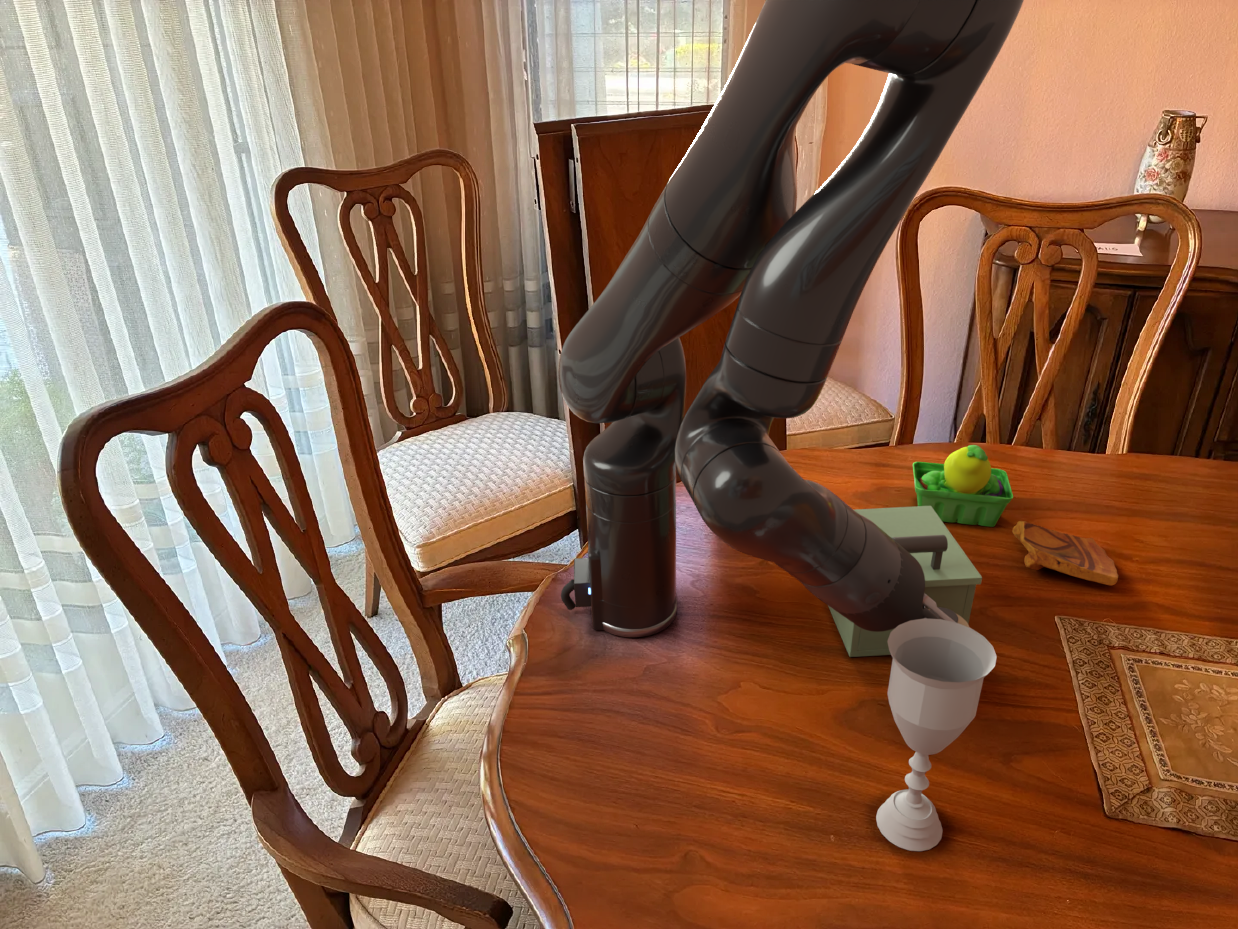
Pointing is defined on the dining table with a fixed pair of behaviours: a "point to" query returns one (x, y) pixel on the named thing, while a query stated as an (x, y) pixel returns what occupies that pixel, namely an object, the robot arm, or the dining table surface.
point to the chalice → (929, 714)
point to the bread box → (876, 642)
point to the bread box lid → (926, 543)
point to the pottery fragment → (1065, 553)
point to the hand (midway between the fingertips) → (952, 643)
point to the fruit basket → (963, 488)
